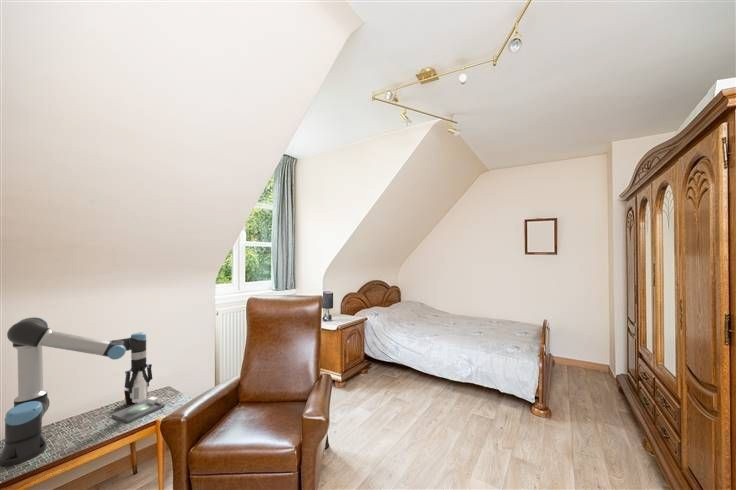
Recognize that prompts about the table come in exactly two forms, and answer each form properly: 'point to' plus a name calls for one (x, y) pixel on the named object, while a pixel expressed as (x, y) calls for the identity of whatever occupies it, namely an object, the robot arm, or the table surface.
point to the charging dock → (138, 410)
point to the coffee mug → (128, 397)
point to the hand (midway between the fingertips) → (139, 395)
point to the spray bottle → (139, 388)
